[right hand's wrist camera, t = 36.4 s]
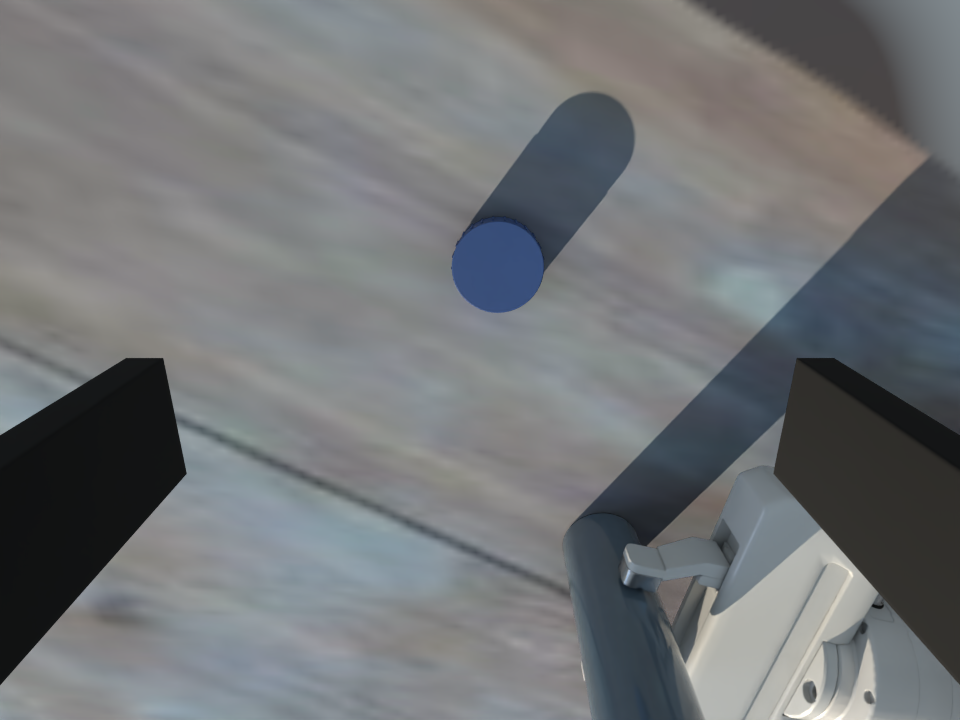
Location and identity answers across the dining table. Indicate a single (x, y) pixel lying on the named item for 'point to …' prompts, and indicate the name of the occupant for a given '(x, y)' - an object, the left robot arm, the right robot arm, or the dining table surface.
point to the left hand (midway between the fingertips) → (603, 614)
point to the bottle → (623, 631)
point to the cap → (497, 264)
